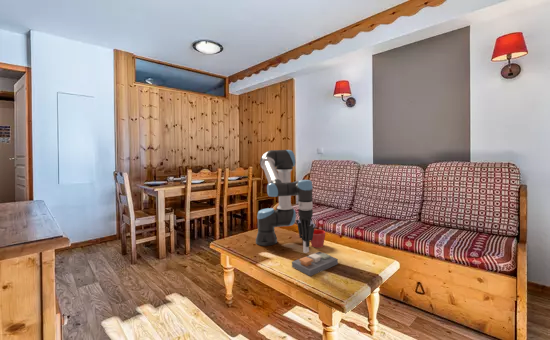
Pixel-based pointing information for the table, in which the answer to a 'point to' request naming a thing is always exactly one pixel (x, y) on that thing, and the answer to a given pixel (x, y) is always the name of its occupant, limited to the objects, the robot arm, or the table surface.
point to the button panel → (315, 265)
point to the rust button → (306, 261)
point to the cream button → (315, 257)
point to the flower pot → (318, 238)
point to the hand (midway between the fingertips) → (306, 252)
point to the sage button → (324, 255)
